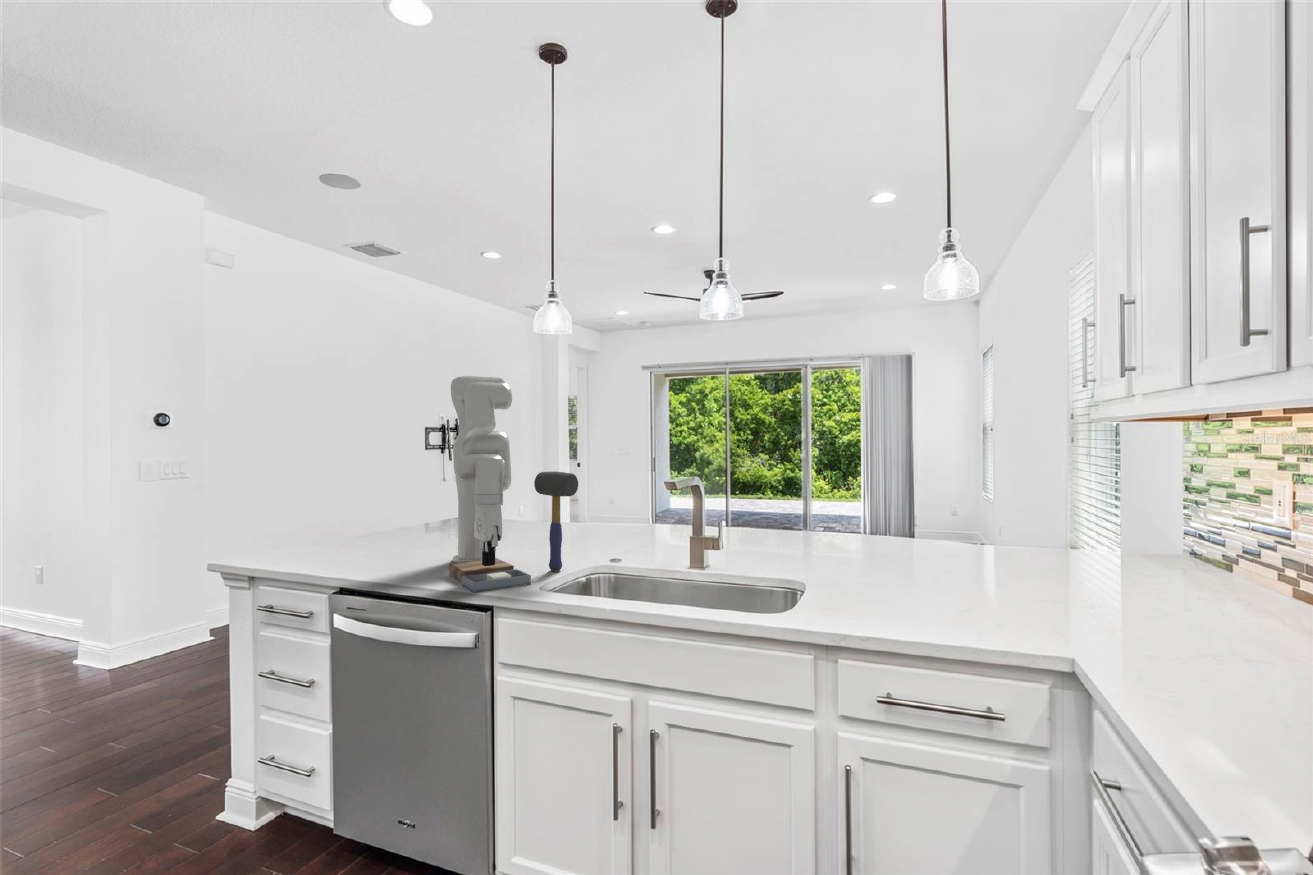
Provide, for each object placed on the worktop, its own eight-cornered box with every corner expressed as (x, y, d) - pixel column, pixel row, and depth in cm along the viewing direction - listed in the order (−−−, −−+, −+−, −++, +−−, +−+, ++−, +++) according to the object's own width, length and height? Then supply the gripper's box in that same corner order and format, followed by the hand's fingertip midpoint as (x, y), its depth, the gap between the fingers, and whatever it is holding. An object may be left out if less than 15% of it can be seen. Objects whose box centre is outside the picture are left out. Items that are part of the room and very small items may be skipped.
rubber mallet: (579, 571, 186) (580, 471, 186) (563, 576, 179) (564, 472, 179) (547, 566, 192) (548, 470, 192) (531, 570, 186) (532, 471, 186)
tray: (461, 585, 167) (462, 576, 167) (517, 577, 177) (517, 569, 177) (473, 592, 160) (473, 582, 160) (530, 584, 169) (530, 575, 169)
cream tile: (493, 577, 164) (493, 587, 164) (511, 575, 167) (511, 584, 167) (486, 574, 168) (486, 583, 168) (504, 572, 171) (504, 581, 171)
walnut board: (449, 575, 179) (449, 563, 179) (495, 569, 187) (495, 557, 187) (464, 584, 168) (465, 571, 168) (513, 578, 176) (513, 565, 176)
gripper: (466, 498, 177) (466, 562, 177) (485, 503, 165) (485, 571, 165) (492, 496, 181) (491, 559, 181) (512, 501, 169) (511, 568, 169)
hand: (488, 565), depth 173 cm, fingers closed
